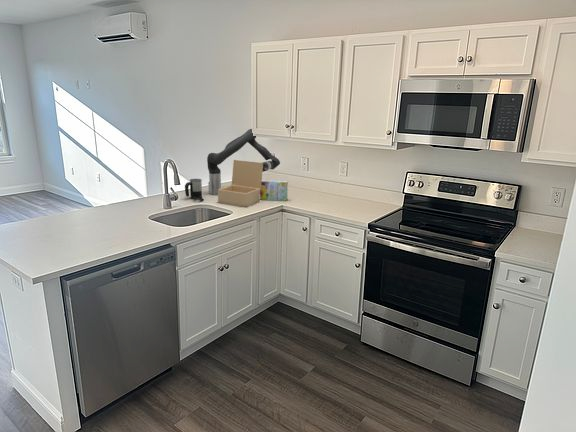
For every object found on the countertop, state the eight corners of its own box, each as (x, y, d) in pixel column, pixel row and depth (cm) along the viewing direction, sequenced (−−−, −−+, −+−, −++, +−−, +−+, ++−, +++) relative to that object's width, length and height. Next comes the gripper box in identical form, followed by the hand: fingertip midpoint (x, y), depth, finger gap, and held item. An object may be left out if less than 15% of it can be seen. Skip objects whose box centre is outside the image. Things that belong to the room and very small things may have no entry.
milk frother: (196, 196, 312) (195, 177, 307) (211, 198, 304) (211, 180, 300) (183, 199, 300) (182, 181, 295) (199, 202, 292) (198, 183, 288)
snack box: (287, 199, 309) (287, 180, 304) (286, 201, 303) (287, 182, 299) (261, 198, 311) (261, 179, 306) (259, 199, 305) (259, 181, 301)
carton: (218, 202, 294) (217, 189, 291) (232, 197, 310) (232, 185, 308) (246, 207, 284) (246, 193, 281) (259, 201, 300) (259, 188, 297)
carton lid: (233, 159, 305) (234, 160, 306) (231, 184, 308) (232, 184, 309) (262, 163, 294) (263, 163, 296) (260, 188, 297) (261, 188, 298)
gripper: (258, 161, 327) (247, 164, 312) (272, 162, 322) (261, 165, 307) (258, 170, 330) (247, 173, 315) (271, 171, 324) (261, 175, 309)
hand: (254, 169), depth 311 cm, fingers closed
